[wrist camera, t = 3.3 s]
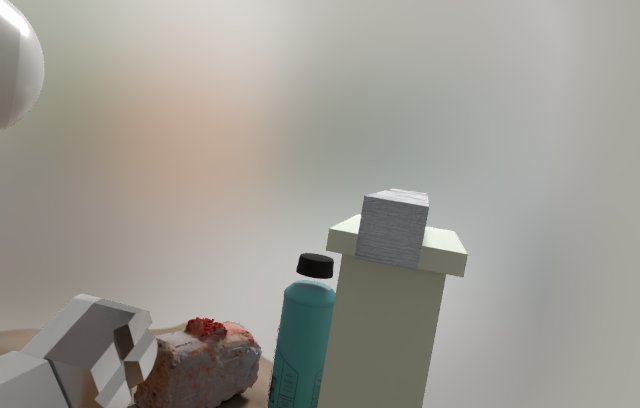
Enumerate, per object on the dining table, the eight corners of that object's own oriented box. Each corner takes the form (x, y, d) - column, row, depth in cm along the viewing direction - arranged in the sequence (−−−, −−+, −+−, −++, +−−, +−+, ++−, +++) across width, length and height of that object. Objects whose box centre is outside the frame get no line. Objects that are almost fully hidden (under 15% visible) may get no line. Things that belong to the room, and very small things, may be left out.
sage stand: (397, 630, 33) (467, 254, 31) (271, 586, 35) (329, 228, 32) (405, 498, 46) (454, 231, 44) (315, 471, 48) (357, 214, 46)
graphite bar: (417, 270, 22) (429, 206, 22) (354, 258, 23) (364, 195, 23) (421, 226, 44) (427, 193, 44) (388, 220, 44) (393, 188, 44)
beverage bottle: (330, 435, 55) (358, 263, 53) (277, 444, 52) (306, 261, 50) (303, 406, 61) (328, 250, 59) (254, 413, 57) (279, 247, 56)
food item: (218, 372, 66) (228, 302, 66) (260, 396, 62) (271, 321, 61) (127, 402, 56) (138, 319, 55) (169, 433, 51) (181, 343, 50)
